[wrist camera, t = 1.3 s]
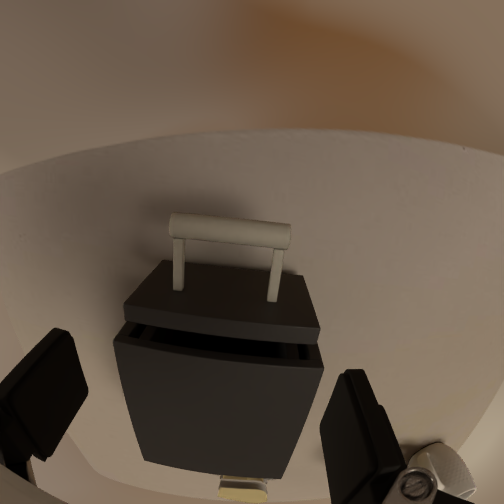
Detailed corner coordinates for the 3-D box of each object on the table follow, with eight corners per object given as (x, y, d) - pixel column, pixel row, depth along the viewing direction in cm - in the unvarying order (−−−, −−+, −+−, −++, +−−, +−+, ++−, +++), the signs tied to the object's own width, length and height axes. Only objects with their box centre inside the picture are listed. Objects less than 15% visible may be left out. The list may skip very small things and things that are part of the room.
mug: (382, 455, 33) (402, 519, 20) (443, 418, 31) (474, 479, 18) (406, 474, 36) (423, 524, 24) (455, 444, 34) (478, 492, 21)
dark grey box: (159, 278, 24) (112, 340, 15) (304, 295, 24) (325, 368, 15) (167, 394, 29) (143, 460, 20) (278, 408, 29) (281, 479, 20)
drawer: (164, 198, 21) (117, 219, 14) (313, 214, 21) (340, 242, 14) (168, 381, 27) (147, 437, 20) (277, 394, 27) (280, 455, 20)
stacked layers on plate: (209, 473, 35) (205, 500, 29) (214, 447, 32) (209, 479, 27) (272, 480, 35) (272, 507, 30) (286, 455, 32) (288, 486, 27)
